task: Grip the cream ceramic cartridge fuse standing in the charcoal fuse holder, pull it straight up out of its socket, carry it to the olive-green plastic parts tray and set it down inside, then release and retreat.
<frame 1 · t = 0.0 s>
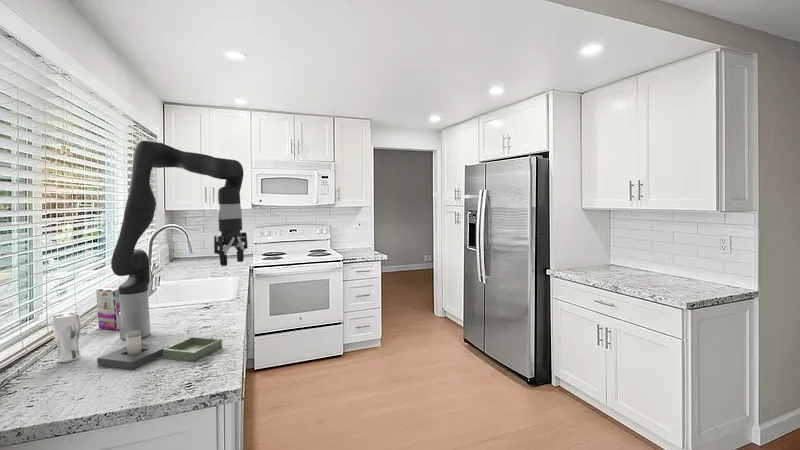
hand: (232, 263, 141), 29 cm above the countertop, fingers open, 8 cm apart
candy bar box: (113, 328, 167), on the countertop
fuse: (134, 345, 133), in the fuse holder
fuse holder: (135, 359, 133), on the countertop
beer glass: (69, 359, 134), on the countertop
parts tray: (193, 352, 137), on the countertop
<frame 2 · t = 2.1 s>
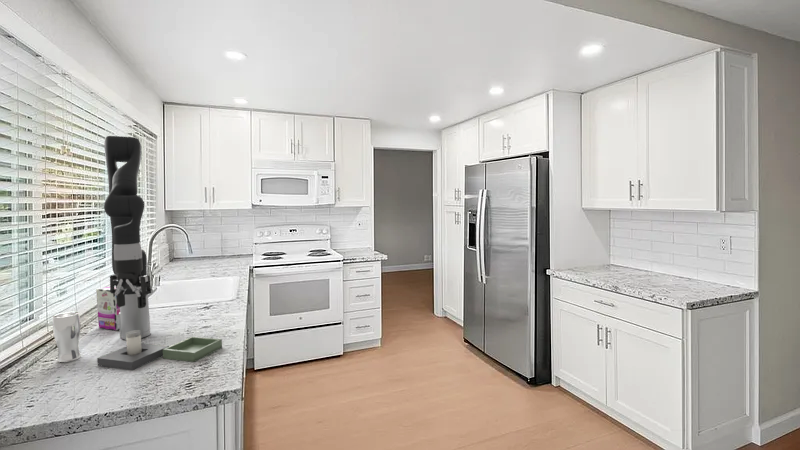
hand: (131, 307, 132), 17 cm above the countertop, fingers open, 8 cm apart
nothing on the countertop moved.
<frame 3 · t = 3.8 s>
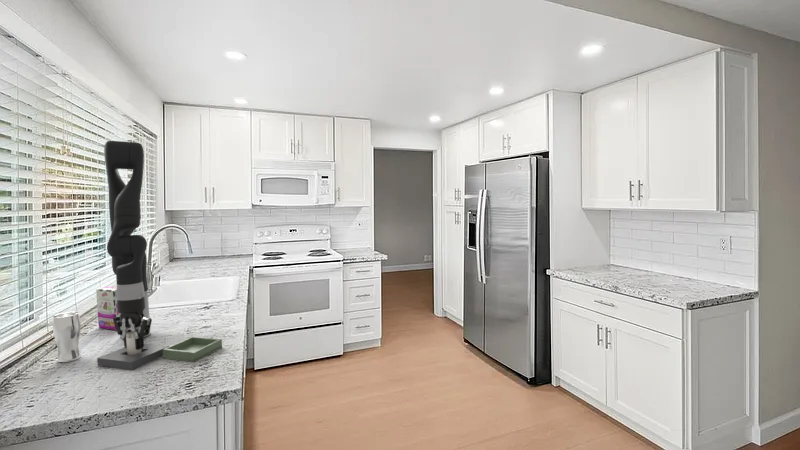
hand: (134, 347, 133), 4 cm above the countertop, fingers closed on fuse, 4 cm apart
fuse: (134, 345, 133), in the fuse holder, touching gripper
everything else where it was.
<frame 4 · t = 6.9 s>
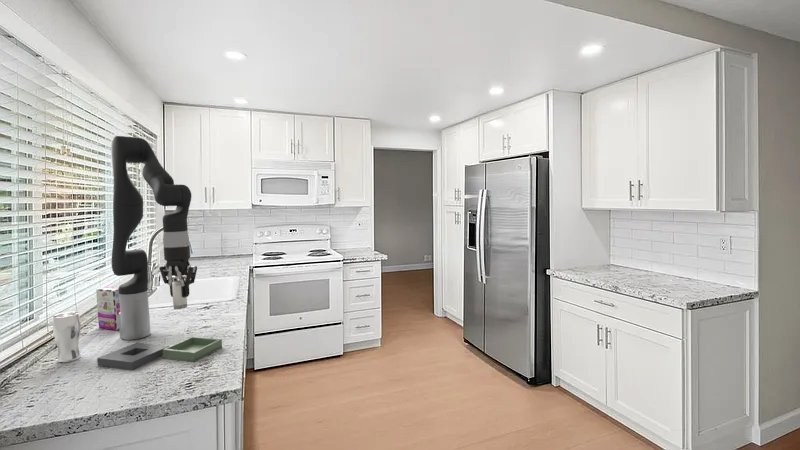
hand: (180, 296, 135), 20 cm above the countertop, fingers closed on fuse, 4 cm apart
fuse: (179, 294, 135), point 21 cm above the countertop, touching gripper
everything else where it was.
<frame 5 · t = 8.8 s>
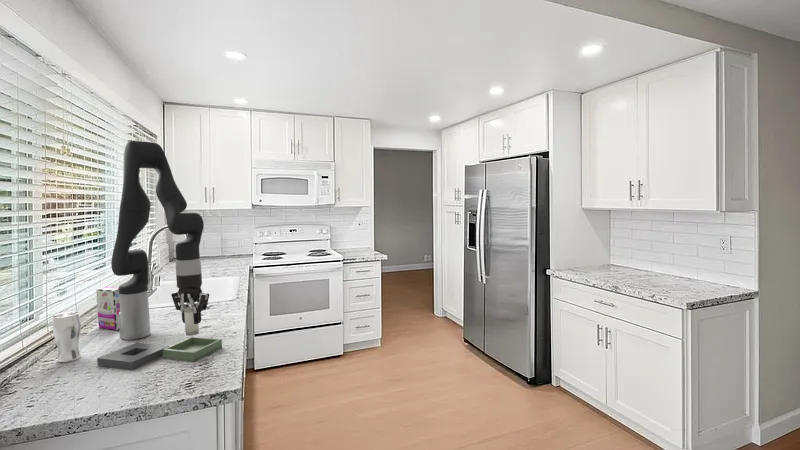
hand: (191, 322, 137), 10 cm above the countertop, fingers closed on fuse, 4 cm apart
fuse: (191, 320, 137), point 11 cm above the countertop, touching gripper
everything else where it was.
when the fingers open (6 cm above the countertop, at t = 10.1 s): fuse stays where it is, resting on parts tray.
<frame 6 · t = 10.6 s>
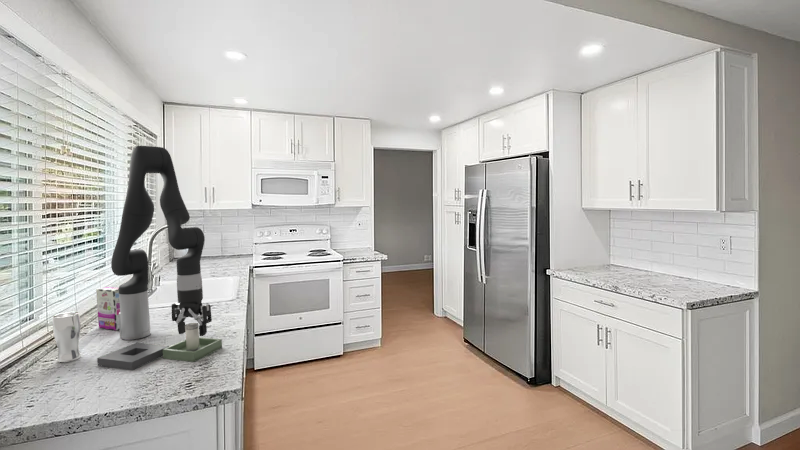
hand: (192, 334, 137), 6 cm above the countertop, fingers open, 8 cm apart
fuse: (192, 337, 137), in the parts tray, point 5 cm above the countertop
everything else where it was.
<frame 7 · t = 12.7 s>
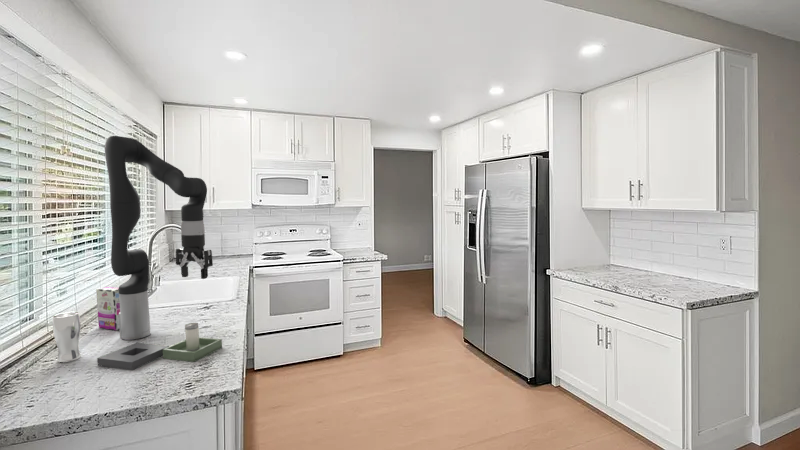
hand: (194, 277, 147), 24 cm above the countertop, fingers open, 8 cm apart
nothing on the countertop moved.
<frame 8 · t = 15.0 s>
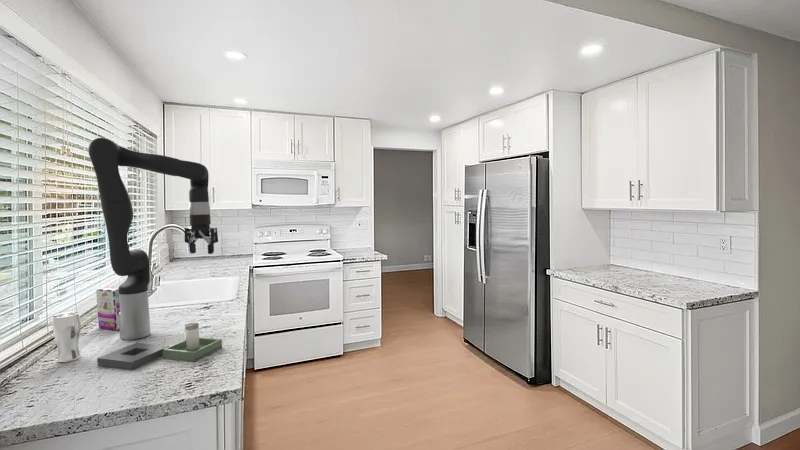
hand: (202, 253, 164), 30 cm above the countertop, fingers open, 8 cm apart
nothing on the countertop moved.
at the end: fuse inside the target area on the parts tray (0.1 cm from its centre), point 5.3 cm above the parts tray's base; the gripper is holding nothing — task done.
